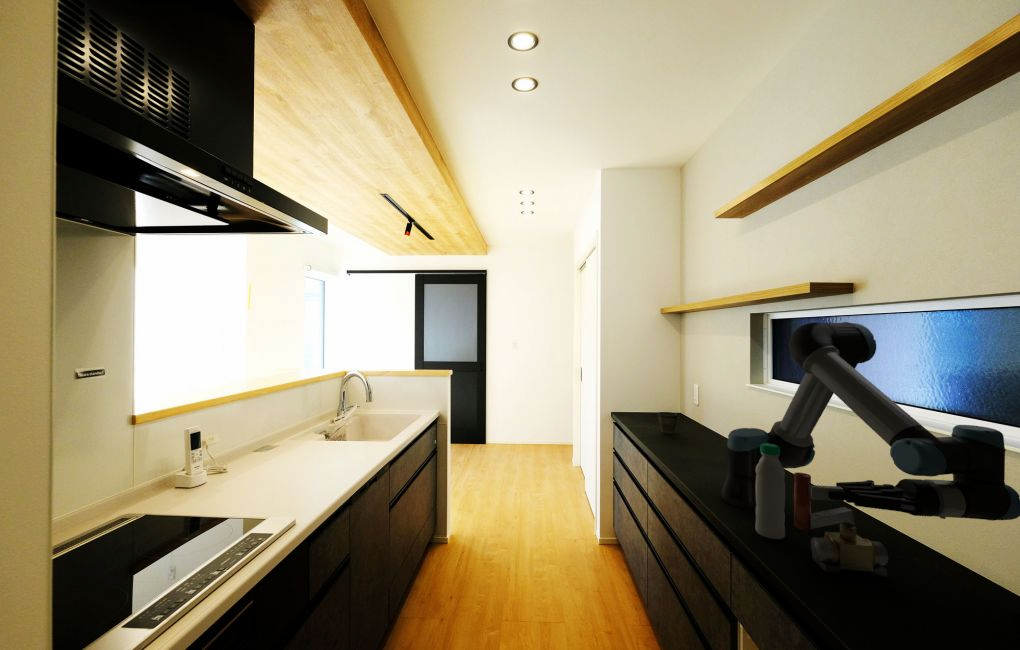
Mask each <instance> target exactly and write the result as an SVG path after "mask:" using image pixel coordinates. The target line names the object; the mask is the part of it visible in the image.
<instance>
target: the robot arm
mask: <svg viewBox="0 0 1020 650" xmlns="http://www.w3.org/2000/svg"><path fill="white" fill-rule="evenodd" d="M788 349H789V353H790V355H791V357H792V359H793V360H794V361H795V363H796V364H797V366H799V368H801V370H803V372H805V374H804V376H803V378H802V380H801V381H800V383H799V386H798V387H797V390H796V391H795V392H794V393H795V394H794V396H793V398H792V400H790V401H791V402H790V403H789V405H788V407H787V409H786V411H785V413H784V415H783V417H782V419H781V420H779V421H776V422H774V423H773V425H772V426H771V429H770V431H769V432H767V431H765V430H763V429H760V428H757V427H756V428H755V427H750V428H749V427H741V428H736V429H733V430H731V431H730V432H729V433H728V436H727V443H726V446H727V476H726V479H725V481H724V483H723V487H722V488H721V489H722V490H721V497H722V500H723V501H725V502H726V503H728V504H730V505H733V507H737V508H740V509H745V510H751V511H756V466H757V464H758V463H759V460H760V459H761V458H762V454H761V451H760V446H761V444H764V443H768V444H774V445H777V446H779V447H780V454H779V455H780V456H778V460H779V461H780V463H781V466H782V467H783V469H784V470H785V469H798V468H799V469H800V468H804V467H806V466H808V465H809V464H811V463H812V461H813V460H814V458H815V455H816V450H815V449H814V448H815V446H816V445H815V444H814V438H813V436H812V433H813V431H814V429H815V427H816V426H817V424H818V422H819V420H820V419H821V417H822V415H823V413H824V412H825V409H826V408H827V406H828V404H829V403H830V401H831V399H832V398H833V395H835V396H836V397H837V398H838V399H839V400H840V401H841V402H843V403H844V404H845V405H846V406H847V407H848V408H849V409H850V410H851V411H853V413H854V414H855V415H856V416H858V417H859V419H861V420H862V421H863V422H864V423H865V424H866V425H867V426H868V427H869V428H870V429H871V430H872V431H873V432H874V433H876V435H878V436H879V437H880V438H881V439H882V440H883V441H884V442H885V443H886V444H888V445H887V446H889V447H890V450H889V455H890V458H891V459H892V461H893V464H894V466H895V467H896V468H898V470H900V471H901V472H903V473H905V474H907V475H910V476H915V477H916V476H917V477H929V478H930V477H931V478H932V477H937V476H938V477H939V476H945V475H952V478H953V479H952V480H946V479H945V480H944V479H929V478H928V479H927V478H926V479H920V478H919V479H917V478H915V479H914V478H904V479H900V480H899V481H898V483H897V484H896V485H894V484H889V483H888V484H887V483H883V484H875V481H874V480H871V479H868V480H867V479H866V480H865V481H847V482H846V481H842V482H836V483H835V486H834V485H816V484H815V485H813V484H811V485H808V493H809V498H811V501H812V500H813V501H814V500H815V501H833V502H834V501H838V502H844V501H845V502H846V503H848V504H853V505H854V506H856V507H860V508H862V507H863V508H869V509H876V510H877V509H878V510H884V511H894V512H901V513H904V514H909V515H912V516H915V517H929V518H930V517H936V518H937V517H938V518H940V519H942V520H945V519H946V518H955V519H957V518H958V519H971V520H972V519H973V520H986V521H993V522H995V521H1010V520H1011V521H1012V520H1015V519H1016V520H1017V518H1019V517H1020V494H1019V492H1018V491H1016V489H1014V488H1013V487H1011V486H1010V485H1008V484H1006V482H1005V480H1006V479H1005V478H1006V477H1005V476H1006V475H1005V473H1006V472H1005V471H1006V470H1005V469H1006V467H1005V466H1006V450H1007V449H1006V448H1005V436H1004V433H1002V432H1001V431H1000V430H998V429H995V428H992V427H987V426H980V425H973V424H956V425H955V426H954V427H952V432H951V434H950V436H940V437H939V436H938V437H937V436H935V435H934V434H933V433H932V432H930V431H929V430H928V429H927V428H925V427H924V426H923V425H922V424H921V423H919V421H917V420H916V419H915V418H914V417H912V416H911V415H910V414H909V413H908V412H907V411H905V410H904V409H903V408H902V407H900V406H899V404H897V403H896V402H895V401H894V400H892V399H891V398H890V397H889V396H887V395H886V394H885V393H884V392H883V391H882V390H881V389H879V388H878V387H877V386H876V385H875V384H873V383H872V382H871V381H870V380H869V379H868V378H866V377H865V376H864V375H862V374H861V373H860V371H858V370H857V369H856V367H857V366H858V364H864V363H866V362H868V361H870V360H872V359H873V357H874V356H875V355H876V352H877V340H876V339H875V337H874V333H872V331H871V330H870V329H869V328H868V327H866V326H864V325H863V324H860V323H855V322H848V321H843V322H809V323H804V324H803V325H800V326H798V327H797V328H796V329H795V330H794V331H793V332H792V333H791V335H790V338H789V342H788Z"/></svg>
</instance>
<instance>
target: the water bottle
mask: <svg viewBox="0 0 1020 650" xmlns="http://www.w3.org/2000/svg"><path fill="white" fill-rule="evenodd" d="M760 451H761V454H762V458H761V459H760V460H759V463H758V464H757V466H756V510H755V523H754V524H755V531H756V533H757V534H759V535H760V536H762V537H764V538H767V539H770V540H782V539H784V538H785V537H786V527H785V522H786V521H785V520H786V515H785V506H786V505H785V504H786V503H785V502H786V486H785V485H786V484H785V476H786V472H785V468H784V469H783V467H782V466H781V463H780V461H779V460H778V456H780V455H779V454H780V447H779V446H777V445H774V444H768V443H764V444H761V446H760Z"/></svg>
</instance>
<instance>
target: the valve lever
mask: <svg viewBox="0 0 1020 650" xmlns="http://www.w3.org/2000/svg"><path fill="white" fill-rule="evenodd" d="M808 485H812V475H810V474H808V473H805V472H794V473H793V526H794V527H795V528H797V529H799V530H803V531H810V530H814V529H818V528H823V527H827V526H832V525H837V524H840V523H842V524H843V525H844V526H846V527H851V528H852V527H854V526H855V514H854V513H853V512H854V511H853V510H852V509H849V508H847V507H845V506H843V507H837V508H832V509H825V510H821V511H815V512H812V499H811V498H809V493H808Z"/></svg>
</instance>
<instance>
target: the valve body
mask: <svg viewBox="0 0 1020 650" xmlns="http://www.w3.org/2000/svg"><path fill="white" fill-rule="evenodd" d="M857 533H858V528H857V527H856V526H855V525H854V527H852V528H851V527H846V526H844V525H843V524H842V523H839V532H836V531H824V535H822V536H821V537H811V540H810V548H811V557H812V561H813V562H814V563H816V564H817V565H818V567H819V568H821V569H822V570H823V571H824V572H825V573H835V574H840V571H841V570H843V571H844V570H845V571H856V572H857V571H858V572H867V573H868V574H870V575H871V576H872V577H873V576H875V577H884V578H885V577H886V578H887V576H888V575H887V574H888V571H887V568H885V567H884V566H887V565H888V562H889V555H888V554H889V553H888V551H887V549H886V548H885V546H884V544H882V543H881V542H880V541H876V540H875V541H873V540H870V539H869V538H862V537H861V536H860V535H859V534H857Z"/></svg>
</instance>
